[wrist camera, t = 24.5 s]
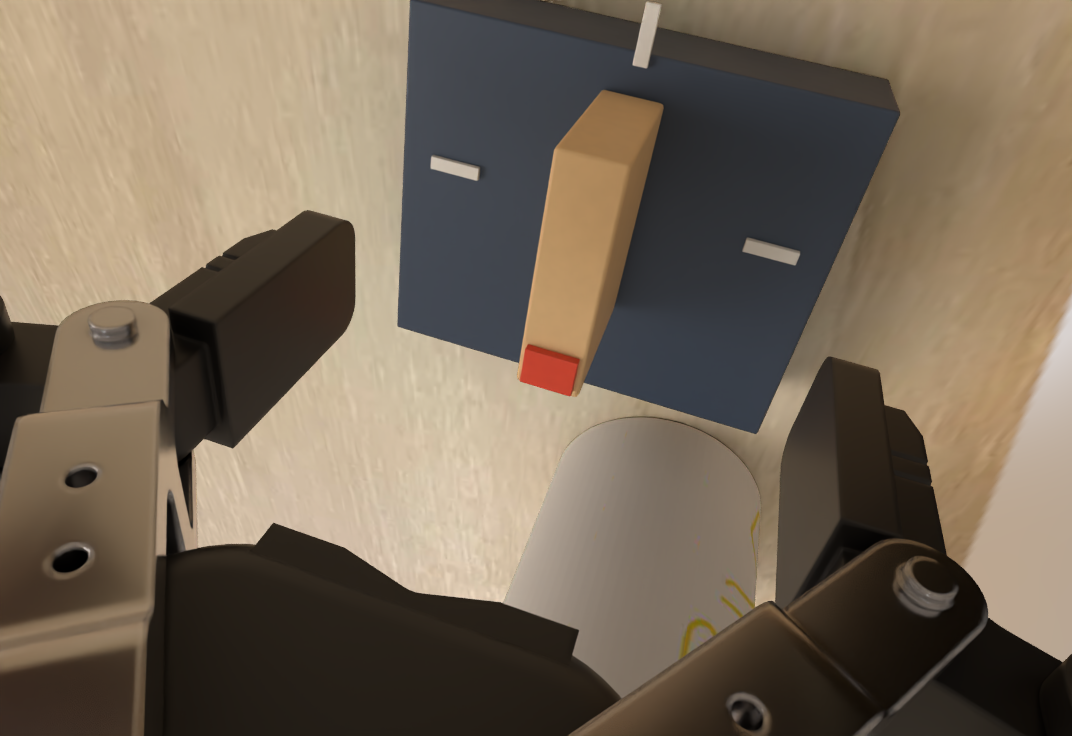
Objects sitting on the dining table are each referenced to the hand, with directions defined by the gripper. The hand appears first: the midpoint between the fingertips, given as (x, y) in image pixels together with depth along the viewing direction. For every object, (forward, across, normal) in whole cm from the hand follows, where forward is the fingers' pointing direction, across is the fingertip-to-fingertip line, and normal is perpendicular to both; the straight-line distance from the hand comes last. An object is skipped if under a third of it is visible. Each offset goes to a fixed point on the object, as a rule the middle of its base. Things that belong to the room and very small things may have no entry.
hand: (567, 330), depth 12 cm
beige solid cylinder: (+12, -3, +14) cm, 19 cm away
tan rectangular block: (+8, +1, +1) cm, 8 cm away
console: (+11, +1, +2) cm, 12 cm away
